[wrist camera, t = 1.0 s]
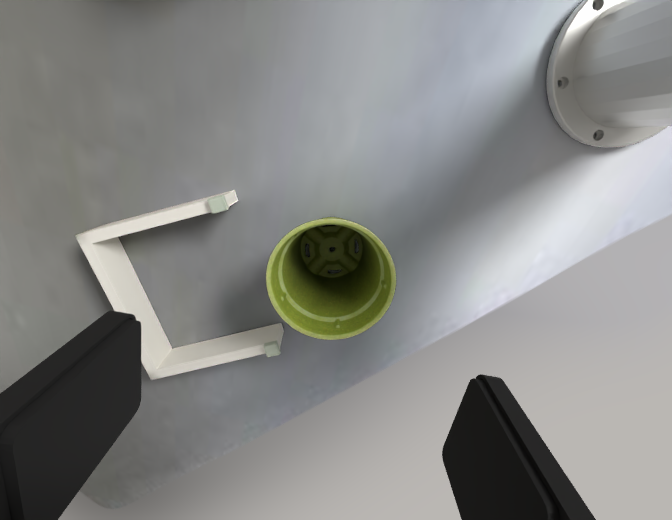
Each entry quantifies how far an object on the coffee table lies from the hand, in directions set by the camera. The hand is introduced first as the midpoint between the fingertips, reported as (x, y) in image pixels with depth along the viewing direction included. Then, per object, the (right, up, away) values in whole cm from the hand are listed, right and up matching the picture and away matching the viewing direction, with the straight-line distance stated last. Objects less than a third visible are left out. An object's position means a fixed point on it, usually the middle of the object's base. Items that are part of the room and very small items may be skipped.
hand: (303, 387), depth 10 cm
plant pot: (0, +5, +24) cm, 24 cm away
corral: (-13, +2, +24) cm, 27 cm away
